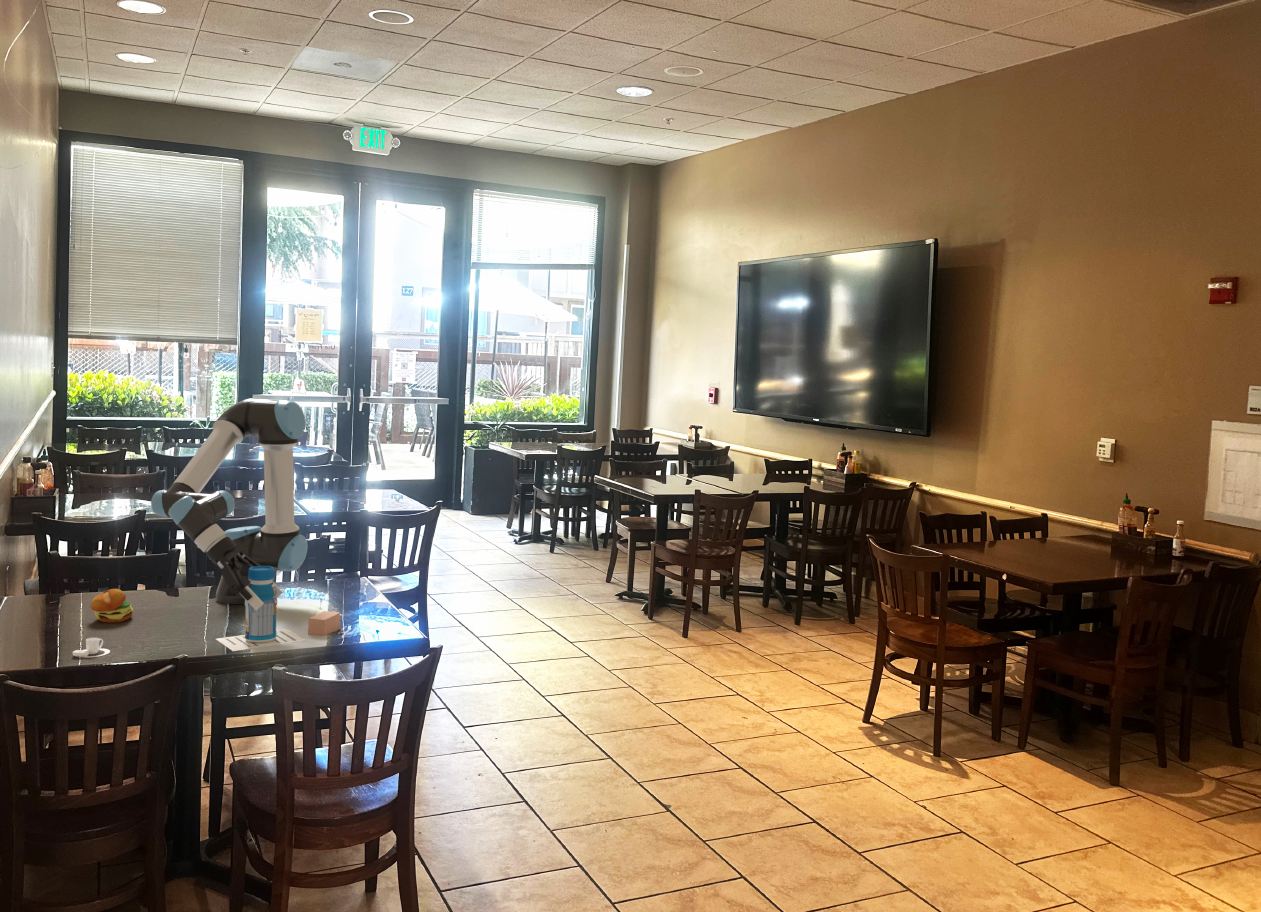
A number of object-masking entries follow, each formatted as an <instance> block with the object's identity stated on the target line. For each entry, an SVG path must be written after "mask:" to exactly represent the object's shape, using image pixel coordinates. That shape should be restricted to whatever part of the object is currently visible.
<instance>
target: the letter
mask: <svg viewBox="0 0 1261 912" xmlns="http://www.w3.org/2000/svg"><path fill="white" fill-rule="evenodd" d="M215 640H216V641H217V642H219V643H220V644H222V645H223V646H225V647H226V648H228V649H229V650H230V651H232V652H237V651H245V650H251V649H258V648H264V647H271V646H279V645H285V644H291V643H292V644H293V643H298V642H300V643H301V642H307V639H305V638H303V637H301V636H300V635H298V634H296V633H294V631H293V632H292V631H291V630H289V629H287V628H286V629H285V628H284V629H276V639H274V640H272V641H269V642H262V643H254V642H249V641H247V640H246V639H245V634H240V635H235V636H226V637H218V638H215Z"/></svg>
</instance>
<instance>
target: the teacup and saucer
mask: <svg viewBox="0 0 1261 912" xmlns="http://www.w3.org/2000/svg"><path fill="white" fill-rule="evenodd" d="M100 641H101V643H100ZM103 645H104V640H103V639H102V638H100V637H87V638H86V639H85V649H82V650H81V649H80V650H79V649H77V650H74V651H72V655H73V656H74V657H78V658H98V657H102V656H105V655H108V654H110V653H111V650H109V649H107V648H102V647H103ZM99 651H103V652H104V653H102V654H99V655H96V654H98V652H99ZM89 655H92V656H89Z"/></svg>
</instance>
